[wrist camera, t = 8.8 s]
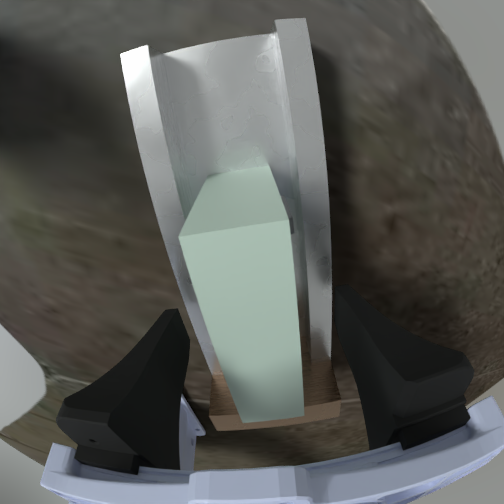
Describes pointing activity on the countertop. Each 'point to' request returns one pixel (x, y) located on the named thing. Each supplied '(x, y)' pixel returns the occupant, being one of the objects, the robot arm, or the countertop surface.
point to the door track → (238, 158)
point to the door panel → (248, 289)
